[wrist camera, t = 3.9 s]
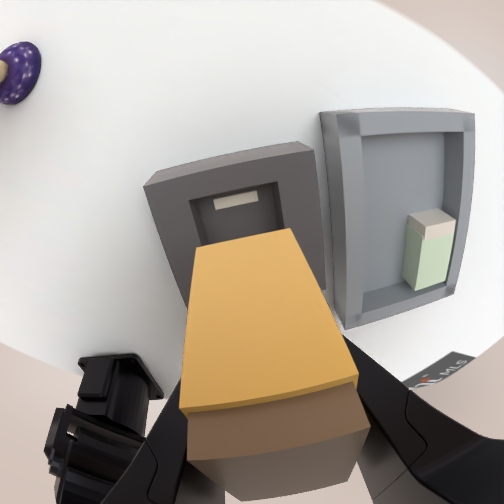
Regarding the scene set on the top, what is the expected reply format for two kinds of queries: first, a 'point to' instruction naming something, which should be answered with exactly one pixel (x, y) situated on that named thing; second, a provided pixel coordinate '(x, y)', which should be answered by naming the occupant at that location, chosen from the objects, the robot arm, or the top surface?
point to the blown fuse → (267, 373)
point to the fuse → (427, 248)
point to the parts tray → (393, 201)
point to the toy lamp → (18, 71)
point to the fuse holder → (237, 204)
